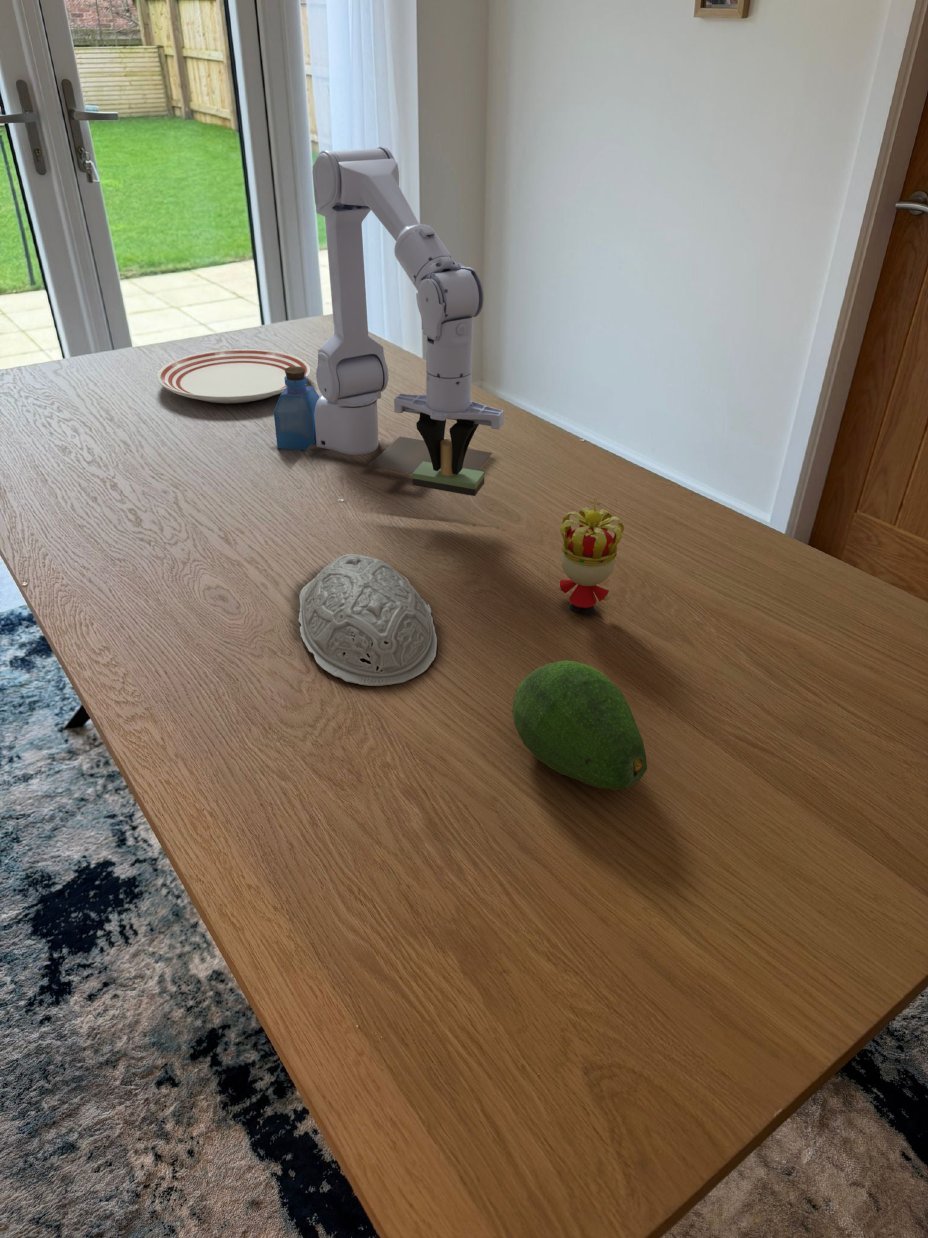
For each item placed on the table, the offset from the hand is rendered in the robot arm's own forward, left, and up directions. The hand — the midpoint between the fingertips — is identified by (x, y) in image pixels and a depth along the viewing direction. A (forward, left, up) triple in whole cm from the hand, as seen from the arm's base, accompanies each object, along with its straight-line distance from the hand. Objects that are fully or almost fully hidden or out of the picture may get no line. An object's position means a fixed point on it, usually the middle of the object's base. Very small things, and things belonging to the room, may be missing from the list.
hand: (447, 469), depth 120 cm
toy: (+23, -14, -8) cm, 28 cm away
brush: (0, 0, -2) cm, 2 cm away
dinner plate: (-55, +33, -8) cm, 65 cm away
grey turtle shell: (0, -26, -8) cm, 27 cm away
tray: (-9, +16, -8) cm, 20 cm away
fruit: (+29, -40, -8) cm, 50 cm away
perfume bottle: (-32, +16, -8) cm, 37 cm away
